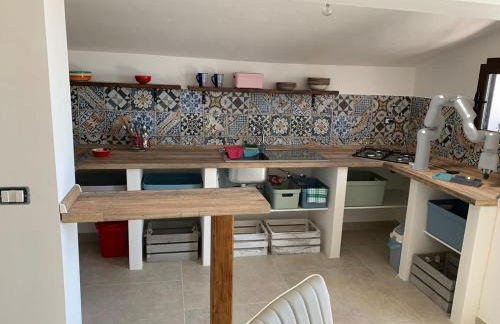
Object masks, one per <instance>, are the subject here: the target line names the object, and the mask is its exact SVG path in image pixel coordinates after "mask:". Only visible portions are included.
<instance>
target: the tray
mask: <svg viewBox="0 0 500 324" xmlns="http://www.w3.org/2000/svg"><path fill="white" fill-rule="evenodd" d="M451 177H455V175H452V174H447V173H443V172H442V173H441V172H438V173H435V174H432V176H431V179H433V180H438V181H443V182H447V183H451V182H450V179H451Z"/></svg>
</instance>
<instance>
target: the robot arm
mask: <svg viewBox="0 0 500 324" xmlns="http://www.w3.org/2000/svg"><path fill="white" fill-rule="evenodd" d="M443 107H454V108H455V109H456V111H457V113H458V115H459V117H460V118H461V120H462V126H463V127H462V128H463V132H464V133H465V136H466V137H467V139H468V140H469V141H471V142H472V143H484V145H483V148H481V149H480V151H482V152H481V153H480V156H479V159H478V160H479V161H478V164H477V165H478V166H477V170H479V171H482V173H483V176H482V178H483V181H484V180H485V181H487V180H489V179H490V174H491V173H497V172H498V166H499V154H498V149H499V143H500V133H499V132H495V131H488V130H478V129H477V128H476V126H475V124H474V120H475V118H476V117H477V113H476V112H475V111H474V109H473V108H474V107H475V100H474V99H473V98H472V97H469V96H464V95H462V94H461V95H459V94H456V93H453V94H452V93H441V94H436V95H435V96H433V97H432V99H431V100H430V104H429V107H428V109H427V113H426V114H425V115H426V116H425V118H424V121H423V124H424V126H425V127H424V128H421V129H419V130H418V131H417V134H416V142H417V143H416V150H415V156H414V157H415V158H414V162H410V161H409V162H408V166H411V169H412V171H413V170H414V171H418V172H419V171H420V172H429V171H430V168H429V162H430V155H431V149H432V148H431V147H432V145H431V142H430V141H436V140H437V139H439V138H440V136H441V134H442V131H443V129H444V126H445V123H446V121H445V117H444V115H442V114H441V113H442V110H443V109H442V108H443ZM487 170H488V171H487Z"/></svg>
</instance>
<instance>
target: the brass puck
mask: <svg viewBox="0 0 500 324" xmlns="http://www.w3.org/2000/svg"><path fill="white" fill-rule="evenodd" d="M465 176H466V180H471V181H474V179H475V178H476V177H475V176H470V175H465Z"/></svg>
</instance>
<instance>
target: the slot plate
mask: <svg viewBox="0 0 500 324" xmlns="http://www.w3.org/2000/svg"><path fill="white" fill-rule="evenodd" d="M454 176H455V177H451V179H450V182H449V183H453V184H457V185H461V186H462V185H463V186H466V187H467V186H468V187H472V188H478V187H479V186H481V185H482V184H483V179H482V178H477V177H475V179H474V181H471V180H466V176H467V175H462V174H461V175H460V174H455V175H454Z"/></svg>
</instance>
